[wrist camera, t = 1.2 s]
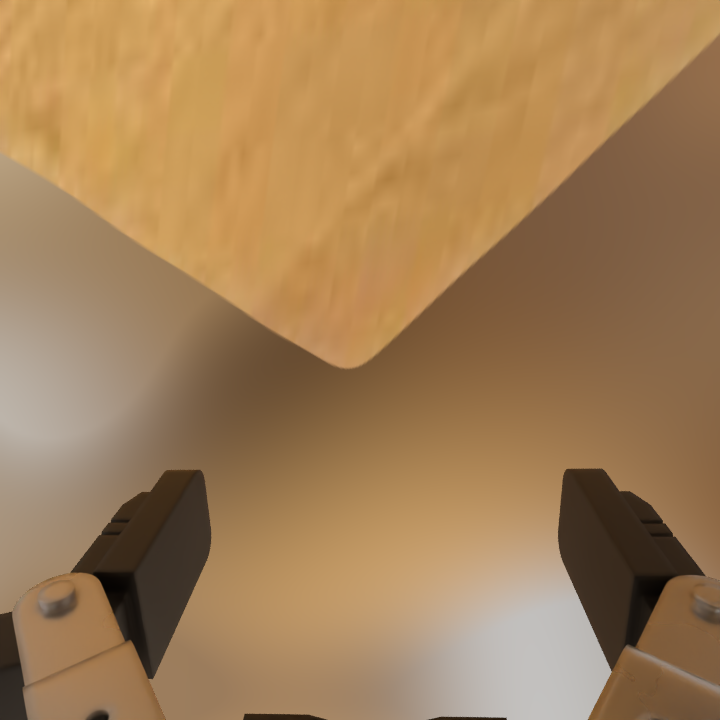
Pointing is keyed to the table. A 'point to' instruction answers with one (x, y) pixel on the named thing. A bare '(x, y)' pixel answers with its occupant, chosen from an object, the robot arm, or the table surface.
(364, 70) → the table surface
